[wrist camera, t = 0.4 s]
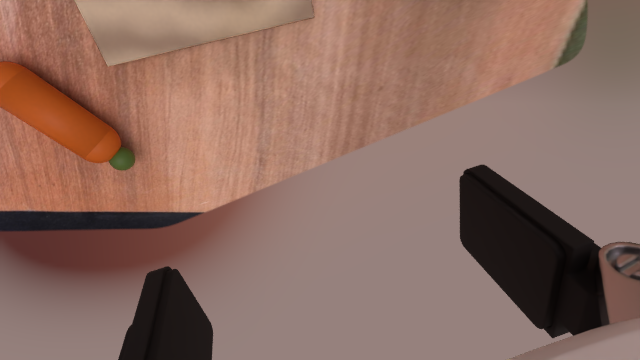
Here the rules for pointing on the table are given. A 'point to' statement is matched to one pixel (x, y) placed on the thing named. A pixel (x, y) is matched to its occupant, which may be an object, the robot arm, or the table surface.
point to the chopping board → (179, 23)
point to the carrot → (60, 117)
